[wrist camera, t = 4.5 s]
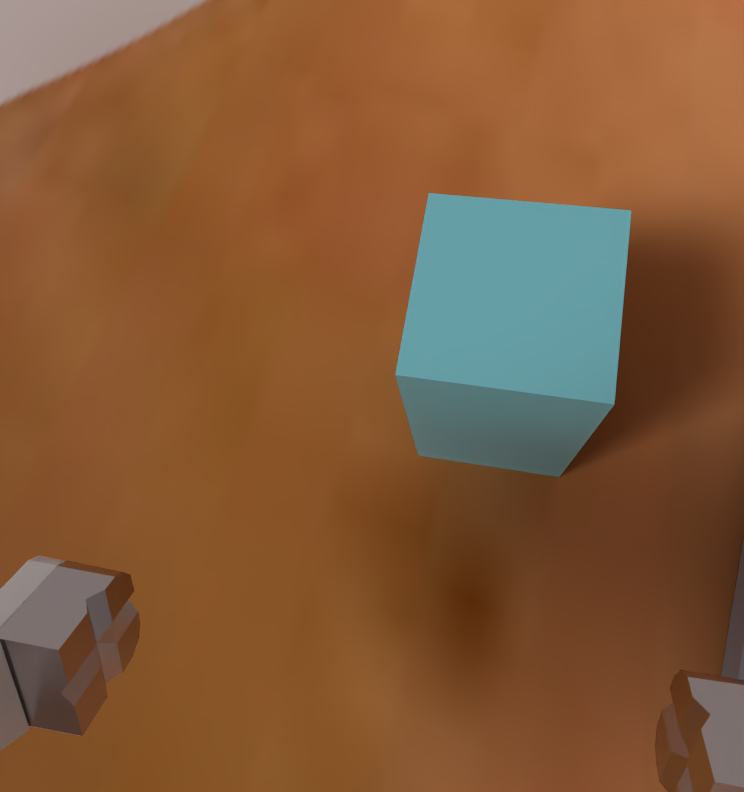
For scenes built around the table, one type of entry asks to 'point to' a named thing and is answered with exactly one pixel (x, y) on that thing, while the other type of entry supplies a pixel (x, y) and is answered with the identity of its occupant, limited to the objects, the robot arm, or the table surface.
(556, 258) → the teal brick
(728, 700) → the robot arm
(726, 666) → the stack base
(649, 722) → the table surface
